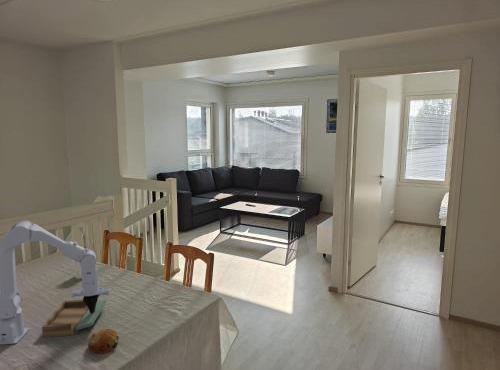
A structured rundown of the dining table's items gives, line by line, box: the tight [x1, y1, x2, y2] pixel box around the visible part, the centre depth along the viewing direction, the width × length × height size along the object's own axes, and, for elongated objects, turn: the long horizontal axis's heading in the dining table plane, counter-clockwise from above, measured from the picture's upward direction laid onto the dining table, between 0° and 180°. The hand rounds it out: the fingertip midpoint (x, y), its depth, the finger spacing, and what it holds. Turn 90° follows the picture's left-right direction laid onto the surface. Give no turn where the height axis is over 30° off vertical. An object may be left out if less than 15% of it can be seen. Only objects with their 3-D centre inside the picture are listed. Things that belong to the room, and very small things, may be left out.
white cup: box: [71, 259, 82, 280], centre depth 183 cm, size 8×8×10 cm
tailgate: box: [76, 299, 107, 331], centre depth 141 cm, size 19×2×6 cm
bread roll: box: [87, 327, 120, 355], centre depth 125 cm, size 10×10×8 cm
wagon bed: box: [41, 299, 88, 338], centre depth 140 cm, size 20×11×4 cm, turn 6°
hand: (92, 311), depth 141 cm, fingers closed
